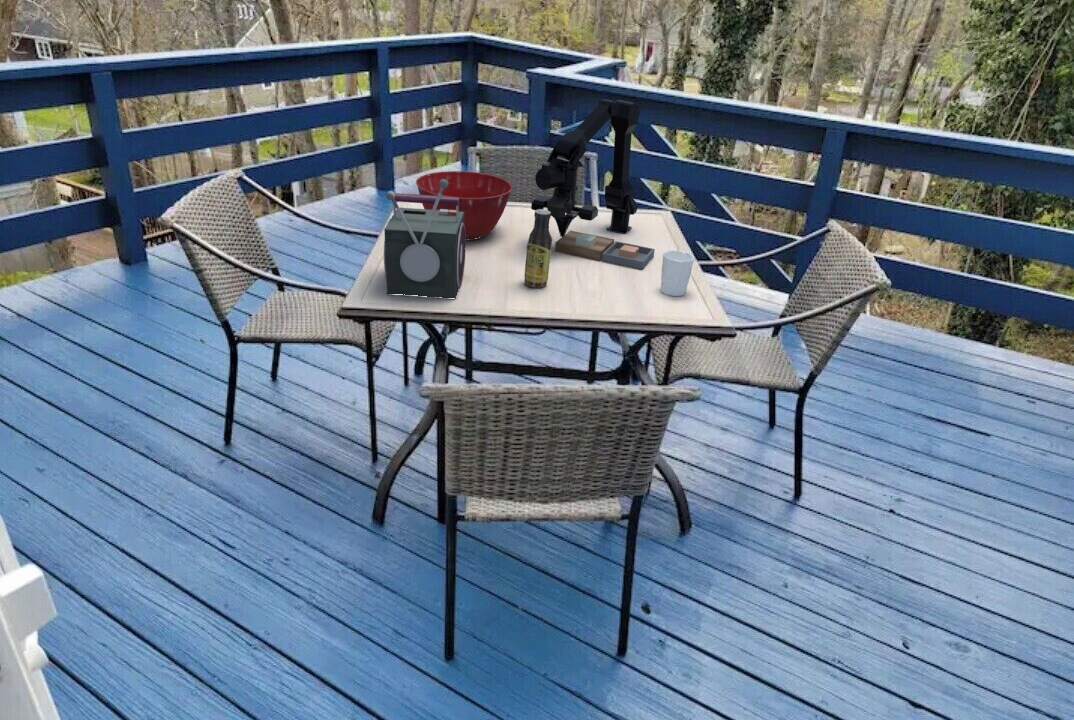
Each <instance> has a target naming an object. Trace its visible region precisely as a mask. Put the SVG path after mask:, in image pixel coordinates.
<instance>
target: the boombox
mask: <svg viewBox="0 0 1074 720" xmlns="http://www.w3.org/2000/svg"><path fill="white" fill-rule="evenodd" d="M439 184H440V187H441V188H440V190H439V193H438V196H430V195H420V194H413V193H401V192H400V193H397V192H396V193H395V192H394V191H393V190H390V191H388V192H386V194H385V195H386V196H385V197H386V199H387V200H389V201H391V202H392V205H393V207H392V212H393V215H392V217H391V218H390V219H389V220H388V222H387V224H386V226H385V228H384V229H383V230H384V241H383V243H384V244H383V269H384V275H385V276H384V277H385V279H386V280H385V281H386V295H387V294H403V295H404V294H405V295H418V296H427V297H442V298H455V299H456V300H457V297H456V296H458V294H459V290H458V289H460V287H462V284H463V280H464V273H465V266H466V265H465V264H466V263H465V262H466V242H467V240H466V234H465V225H464V212H458V211H459V197H445V196H441V195H442V192H443V189H444V188H446V187H447V186H448V181H447V180H445V179H442V180H441V181H440V183H439ZM397 202H399V203H412V204H413V203H414V204H422V203H425V204H434V206H433V209H432V210H429V209H424V208H413V207H410V208H409V207H399V205H398V204H399V203H397ZM438 204H440V205H455V206H456V210H447V209H440V210H436V208H437V205H438ZM457 293H458V294H457ZM455 299H454V300H455Z"/></svg>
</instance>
